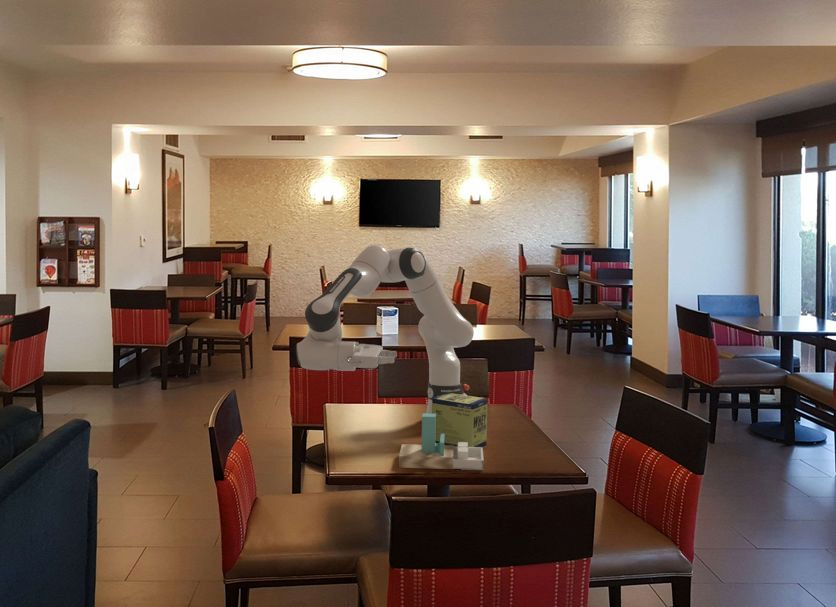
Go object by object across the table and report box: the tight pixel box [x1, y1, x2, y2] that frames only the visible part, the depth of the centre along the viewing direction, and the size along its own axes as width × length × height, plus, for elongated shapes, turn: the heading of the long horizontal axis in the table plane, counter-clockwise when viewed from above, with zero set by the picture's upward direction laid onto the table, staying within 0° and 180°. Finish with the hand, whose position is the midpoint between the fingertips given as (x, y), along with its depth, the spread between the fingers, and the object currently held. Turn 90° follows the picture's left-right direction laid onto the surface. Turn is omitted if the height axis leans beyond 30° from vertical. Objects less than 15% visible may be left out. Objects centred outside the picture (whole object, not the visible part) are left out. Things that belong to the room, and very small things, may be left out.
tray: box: [452, 446, 485, 471], centre depth 255 cm, size 9×14×3 cm, turn 177°
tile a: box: [458, 442, 468, 448], centre depth 257 cm, size 4×4×3 cm
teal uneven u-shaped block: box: [421, 412, 445, 456], centre depth 254 cm, size 7×10×11 cm
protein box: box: [432, 393, 488, 448], centre depth 274 cm, size 10×16×16 cm
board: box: [398, 443, 453, 470], centre depth 255 cm, size 16×13×4 cm
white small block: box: [458, 447, 468, 459], centre depth 252 cm, size 4×4×3 cm
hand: (395, 357), depth 252 cm, fingers open, 8 cm apart
